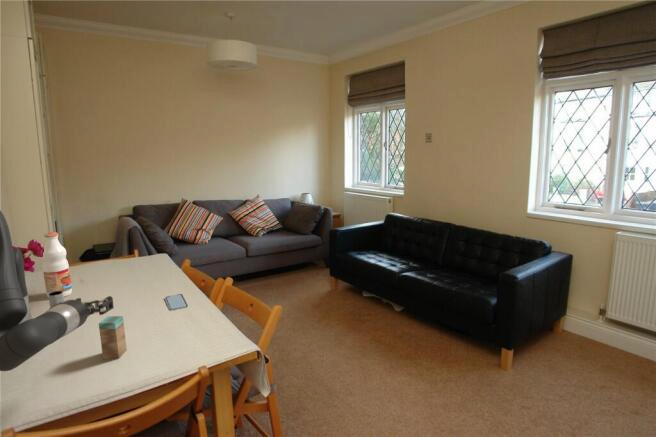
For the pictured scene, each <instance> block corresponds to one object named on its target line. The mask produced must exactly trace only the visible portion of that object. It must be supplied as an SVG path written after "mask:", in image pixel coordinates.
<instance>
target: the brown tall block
mask: <svg viewBox="0 0 656 437" xmlns="http://www.w3.org/2000/svg"><path fill="white" fill-rule="evenodd" d="M98 329H99V336H100V344H101V353H102V359H103V360H108V359H109V360H112V359H113V360H114V359H115V360H116V359H117V360H119V359H121V357H122V356H124V354H125V352H127V351H128V350H127V342H126V332H125V323H124V315H111V316H110V315H107V316H106V317H105V318H103V319H102V320H101V321H100V322H98Z"/></svg>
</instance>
